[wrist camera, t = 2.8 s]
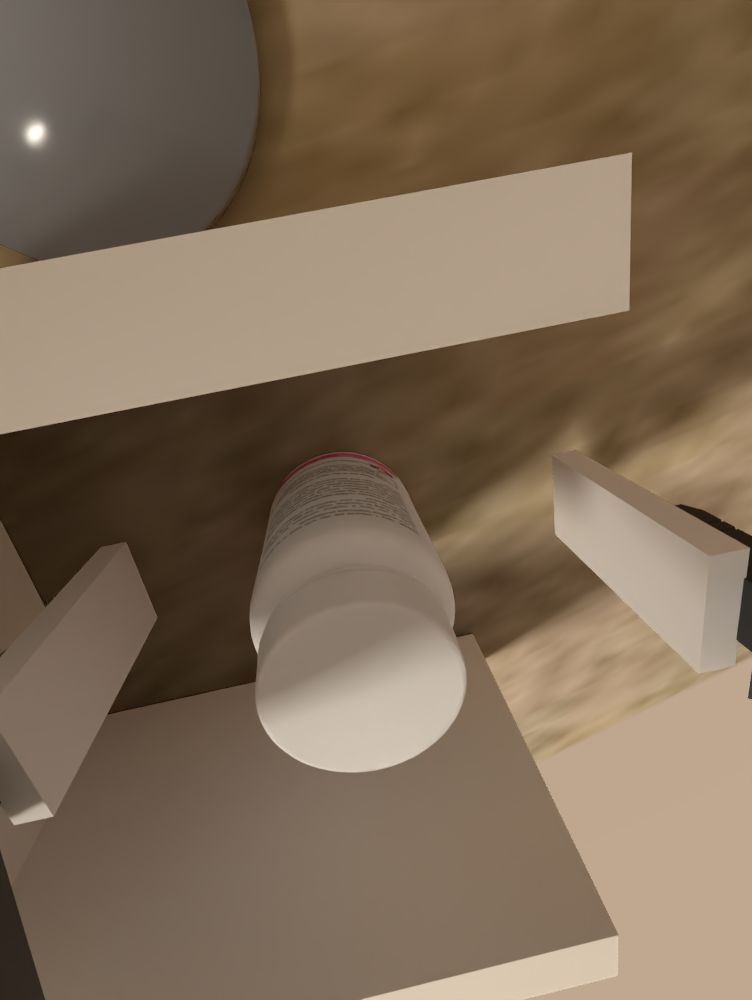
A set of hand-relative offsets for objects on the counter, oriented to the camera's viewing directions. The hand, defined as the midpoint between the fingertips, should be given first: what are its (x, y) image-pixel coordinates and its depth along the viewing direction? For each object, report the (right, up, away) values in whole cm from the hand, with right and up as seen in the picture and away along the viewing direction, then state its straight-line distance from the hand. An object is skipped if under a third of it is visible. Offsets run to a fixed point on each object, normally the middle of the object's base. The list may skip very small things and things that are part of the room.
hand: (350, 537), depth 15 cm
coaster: (-7, +12, -3) cm, 14 cm away
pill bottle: (0, +1, +2) cm, 2 cm away
